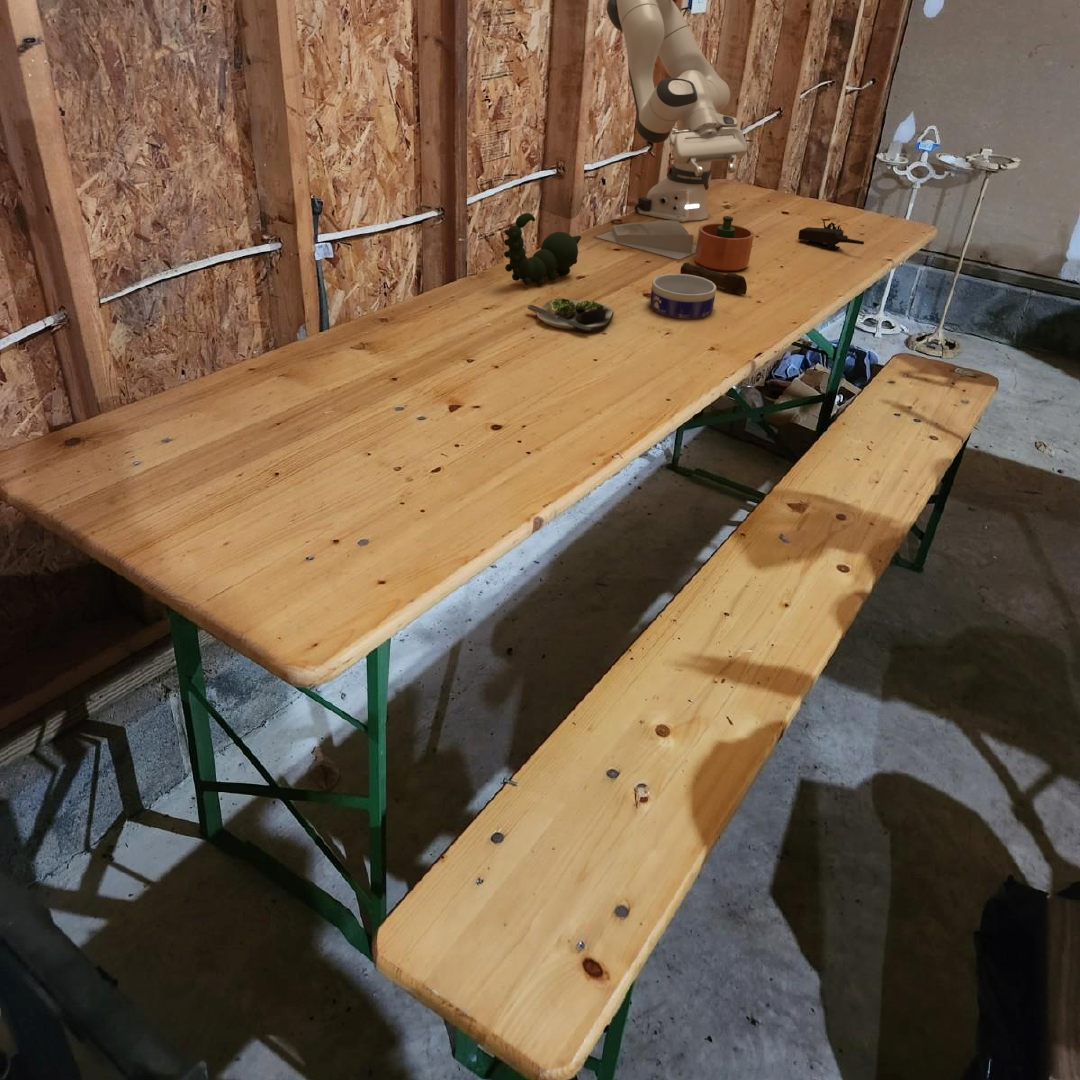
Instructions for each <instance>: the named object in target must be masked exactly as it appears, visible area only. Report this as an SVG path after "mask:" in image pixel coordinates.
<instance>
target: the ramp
mask: <svg viewBox="0 0 1080 1080" xmlns="http://www.w3.org/2000/svg"><path fill="white" fill-rule="evenodd" d="M595 238H597V239H600V240H603V241H608V242H611V243H615V244H619V245H622V246H626V247H630V248H634V249H637V250H640V251H645V252H648V253H652V254H655V255H659V256H663V257H667V258H670V259H673V260H677V261H680V260H682V259H685V258H688V257H689V256H691V255H693V254H694V255H695V252H696V246H697V244H694V238H695V236H694V235H693V234H692V233H689V232H688V230H687V229H686V228H685V227H684V226H683V225H682V223H681V222H679V221H674V220H654V221H645V222H630V223H621V224H615V225H612V226H611V230H610V231H607V232H604V233H601V234H599V235H596V236H595Z"/></svg>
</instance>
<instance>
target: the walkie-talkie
mask: <svg viewBox="0 0 1080 1080" xmlns="http://www.w3.org/2000/svg"><path fill="white" fill-rule="evenodd" d="M842 230H843V229H841V230H838V228H836V229H832V228H831V229H827V228H824V227H812V226H811V227H810V226H807V227H804V228H801V229H799V231H798V238H797V239H798V240H801V241H806V242H807V244H808V245H812V246H816V247H819V248H823V249H828V250H833V251H836V250H839V249H840V248H841V247H840V246H838V244H840V243H841V244H842V243H846V244H856V245H861V246H862V245H864V244H865V241H863V240H858V239H853V238H849V237H848V235H844V233H843V231H844V230H843V231H842Z"/></svg>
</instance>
